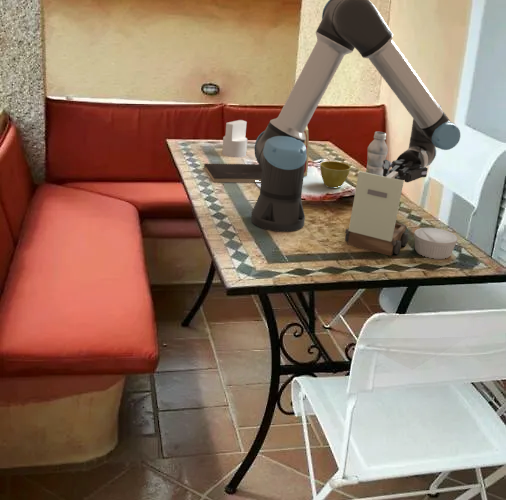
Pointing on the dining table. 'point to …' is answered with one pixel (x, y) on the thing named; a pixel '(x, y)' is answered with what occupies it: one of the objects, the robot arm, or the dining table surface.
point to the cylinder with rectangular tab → (235, 139)
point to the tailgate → (375, 205)
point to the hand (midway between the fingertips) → (387, 182)
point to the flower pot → (334, 173)
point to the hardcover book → (234, 172)
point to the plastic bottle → (377, 154)
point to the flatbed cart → (379, 241)
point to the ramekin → (434, 242)
